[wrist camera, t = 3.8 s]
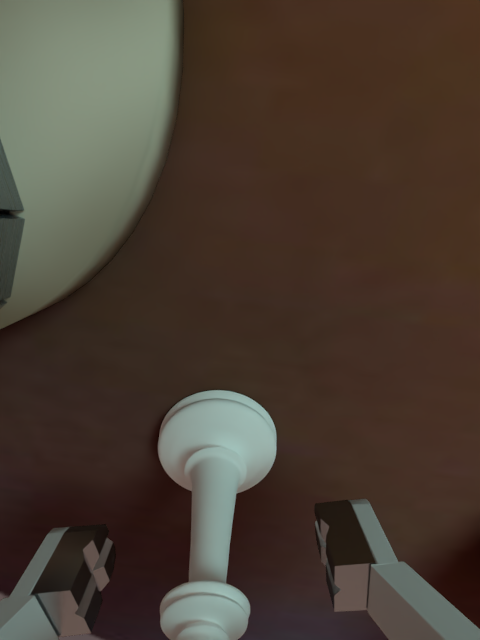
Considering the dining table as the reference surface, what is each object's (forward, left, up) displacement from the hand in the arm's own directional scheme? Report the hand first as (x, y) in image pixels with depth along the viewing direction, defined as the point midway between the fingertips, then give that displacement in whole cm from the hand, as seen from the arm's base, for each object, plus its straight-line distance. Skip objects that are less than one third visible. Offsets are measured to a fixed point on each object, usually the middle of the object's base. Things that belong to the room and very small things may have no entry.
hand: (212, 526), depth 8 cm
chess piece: (0, 0, -4) cm, 4 cm away
